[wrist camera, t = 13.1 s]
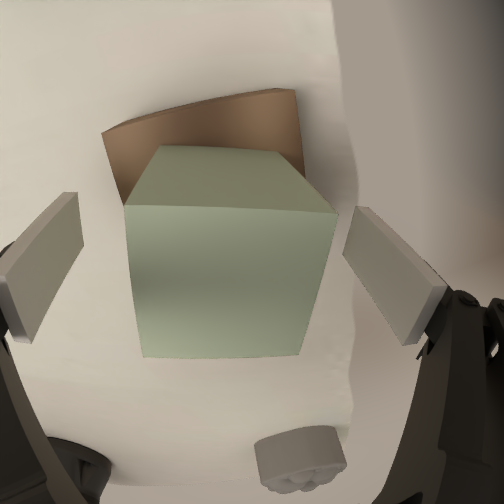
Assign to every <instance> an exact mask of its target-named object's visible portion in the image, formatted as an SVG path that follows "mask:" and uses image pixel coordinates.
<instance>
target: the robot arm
mask: <svg viewBox="0 0 504 504" xmlns="http://www.w3.org/2000/svg"><path fill="white" fill-rule="evenodd" d="M83 246H84V242H83V235H82V228H81V220H80V212H79V202H78V192H63V193H62V194H61V195H60V196H59V197H58V198H57V199H56V200H55V201H54V202H53V203H52V204H51V205H49V206H48V207H47V208H46V209H45V210H44V211H43V212H42V213H41V214H40V215H39V216H38V217H37V218H36V219H35V220H34V221H33V222H32V224H31V225H30V226H29V227H28V228H27V229H26V230H25V231H24V232H23V233H22V234H21V235H20V236H19V237H18V238H17V240H16V241H14V242H12V243H11V244H9V245H8V246H6V247H5V248H4V249H3V250H2V251H1V252H0V504H99V502H100V496H101V494H102V492H103V490H104V488H105V486H106V484H107V482H108V480H109V477H110V475H111V463H110V461H109V460H108V459H106V458H105V457H104V456H102V455H100V454H98V453H97V452H95V451H92V450H90V449H88V448H86V447H83V446H80V445H78V444H75V443H72V442H68V441H64V440H60V439H56V438H47V437H46V435H45V433H44V431H43V429H42V427H41V425H40V423H39V421H38V419H37V417H36V415H35V413H34V410H33V408H32V406H31V404H30V402H29V399H28V397H27V395H26V392H25V390H24V387H23V385H22V382H21V380H20V377H19V375H18V372H17V369H16V366H15V364H14V361H13V358H12V355H11V352H10V349H9V346H8V343H7V341H6V339H5V337H4V336H5V334H6V332H7V330H8V329H9V331H10V333H11V335H12V337H13V339H14V341H16V342H22V343H27V344H32V342H33V340H34V337H35V335H36V333H37V331H38V329H39V327H40V325H41V323H42V320H43V318H44V316H45V314H46V312H47V310H48V308H49V307H50V305H51V303H52V301H53V299H54V297H55V295H56V293H57V291H58V289H59V288H60V286H61V284H62V282H63V280H64V279H65V277H66V275H67V273H68V271H69V270H70V268H71V266H72V265H73V263H74V261H75V259H76V258H77V256H78V254H79V253H80V251H81V249H82V248H83ZM342 255H343V256H344V258H345V259H346V260H347V262H348V263H349V265H350V266H351V268H352V269H353V270H354V272H355V273H356V275H357V276H358V278H359V279H360V281H361V282H362V284H363V285H364V287H365V288H366V290H367V291H368V292H369V294H370V295H371V297H372V299H373V300H374V302H375V303H376V305H377V306H378V308H379V309H380V311H381V312H382V314H383V316H384V317H385V319H386V320H387V322H388V323H389V325H390V326H391V328H392V330H393V331H394V333H395V334H396V336H397V338H398V339H399V341H400V342H401V344H402V346H404V345H410V344H417V343H418V341H419V339H420V338H421V336H422V334H423V333H424V332H425V333H426V335H427V336H428V337H429V338H428V339H427V341H426V343H425V344H424V346H423V348H422V349H421V351H420V353H419V354H418V356H417V358H416V359H417V360H418V359H419V358H420V356H422V360H421V365H420V370H419V375H418V379H417V383H416V387H415V392H414V396H413V400H412V403H411V407H410V411H409V414H408V418H407V421H406V425H405V428H404V431H403V435H402V438H401V441H400V444H399V447H398V450H397V453H396V456H395V459H394V461H393V464H392V467H391V470H390V472H389V475H388V478H387V480H386V483H385V485H384V487H383V489H382V491H381V493H380V494H379V495H378V496H377V498H376V499H375V500H374V501H373V502H372V504H504V300H502V299H499V298H493V299H492V301H491V302H490V304H489V306H488V308H486V307H481V306H480V304H479V302H478V300H476V298H475V297H473V296H472V295H471V294H469V293H467V292H465V291H462V290H456V291H453V290H452V289H451V288H450V286H449V285H448V284H447V283H446V282H445V281H444V280H443V279H442V278H441V277H440V276H439V275H437V273H436V271H435V270H434V269H432V267H431V266H430V265H429V264H428V263H427V262H426V261H425V260H423V259H422V258H421V257H420V256H419V255H418V254H417V253H416V252H415V251H414V250H413V249H412V248H411V247H410V246H409V245H408V244H407V243H406V242H405V241H404V240H403V239H402V238H401V237H400V236H399V235H398V234H397V233H396V232H395V231H394V230H392V228H390V227H389V226H388V225H387V224H386V223H385V222H384V221H383V220H382V219H381V218H380V217H379V216H378V215H376V214H375V213H374V212H373V211H372V210H371V209H370V208H368V207H360V206H356V207H355V211H354V215H353V218H352V222H351V226H350V230H349V233H348V237H347V240H346V244H345V247H344V251H343V254H342ZM497 343H498V345H499V347H498V352H497V353H496V354H495V356H494V357H492V355H491V352H492V351H493V349H494V348H495V346H496V345H497Z"/></svg>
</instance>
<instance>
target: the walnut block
mask: <svg viewBox="0 0 504 504" xmlns="http://www.w3.org/2000/svg"><path fill="white" fill-rule="evenodd" d="M101 134H102V138H103V142H104V145H105V149H106V152H107V156H108V159H109V162H110V166H111V169H112V172H113V175H114V179H115V182H116V185H117V188H118V191H119V194H120V197H121V200H122V203H123V206H124V204H125V203H126V201H127V199H128V197H129V196H130V194H131V192H132V190H133V189H134V187H135V185H136V183H137V182H138V180H139V178H140V177H141V175H142V173H143V172H144V170H145V168H146V167H147V165H148V164H149V162H150V160H151V159H152V157H153V156H154V154H155V152H156V151H157V149H158V148H159V146H160V145H177V146H207V147H226V148H241V149H254V150H266V151H276V152H278V153H279V154H281V155H282V156H283V157H284V158H285V159H286V160H287V161H288V162H289V163H290V164H291V165H292V166H293V167H294V168H295V169H296V170H297V171H298V172H299V173H300V174H301V175H302V176H303V177H304V178H305V170H304V161H303V152H302V143H301V135H300V127H299V119H298V112H297V104H296V97H295V90H289V89H278V88H274V89H266V90H259V91H253V92H247V93H241V94H235V95H229V96H224V97H219V98H214V99H209V100H204V101H200V102H195V103H191V104H186V105H182V106H178V107H174V108H170V109H166V110H163V111H159V112H155V113H152V114H148V115H145V116H141V117H138V118H134V119H131V120H128V121H125V122H122V123H120V124H118V125H116V126H114V127H113V128H111V129H109V130H107V131H105V132H103V133H101Z"/></svg>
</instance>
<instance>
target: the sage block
mask: <svg viewBox="0 0 504 504" xmlns="http://www.w3.org/2000/svg"><path fill="white" fill-rule="evenodd" d="M124 212H125V227H126V240H127V251H128V261H129V270H130V278H131V286H132V294H133V301H134V308H135V314H136V321H137V327H138V332H139V338H140V344H141V349H142V354H143V357H147V358H182V359H218V358H254V357H274V356H290V355H299V352H300V349H301V346H302V343H303V340H304V336H305V333H306V330H307V327H308V324H309V320H310V317H311V314H312V311H313V307H314V304H315V300H316V297H317V294H318V290H319V287H320V283H321V280H322V276H323V272H324V269H325V265H326V261H327V258H328V254H329V250H330V246H331V243H332V239H333V235H334V231H335V227H336V223H337V219H338V215H339V214H338V213H337V212H336V211H335V209H334V208H333V207H332V206H331V205H330V204H329V203H328V202H327V201H326V200H325V199H324V198H323V197H322V196H321V195H320V194H319V193H318V192H317V191H316V189H315V188H314V187H313V186H312V185H311V184H310V183H309V182H308V181H307V180H306V179H305V178H304V177H303V176H302V175H301V174H300V173H299V172H298V171H297V170H296V169H295V168H294V167H293V166H292V165H291V164H290V163H289V162H288V161H287V160H286V159H285V158H284V157H283V156H282V155H281V154H279V153H278V152H276V151H266V150H254V149H241V148H226V147H207V146H177V145H160V146H159V148H158V149H157V151H156V152H155V154H154V156H153V157H152V159H151V160H150V162H149V164H148V165H147V167H146V168H145V170H144V172H143V173H142V175H141V177H140V178H139V180H138V182H137V183H136V185H135V187H134V189H133V190H132V192H131V194H130V196H129V197H128V199H127V201H126V203H125V204H124Z"/></svg>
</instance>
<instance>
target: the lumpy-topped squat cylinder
mask: <svg viewBox="0 0 504 504" xmlns="http://www.w3.org/2000/svg"><path fill="white" fill-rule="evenodd" d="M254 447H255V453H256V459H257V465H258V470H259V475H260V481H261V484H262V485H263V486H266V487H268V489H269V490H270V491H276V492H277V493H280V494H287V493H291V492H294V491H297V490H301V491H304V492H307V491H311V490H314V489H315V488H316V487H317V486H319V485H322V484H326V483H329V482H331V481H332V480H333V479H334V478H335V476H336V475H337V474H338V473H339V472H342V471H343V470H344V469H345V468H346V467H347V463H346V460H345V457H344V454H343V450H342V447H341V444H340V441H339V438H338V435H337V432H336V429H335V428H334V427H332V426H310V427H302V428H298V429H294V430H290V431H287V432H283V433H280V434H276V435H273V436H270V437H266V438H264V439H261V440H259V441H258V442H256V443H255V444H254Z"/></svg>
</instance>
